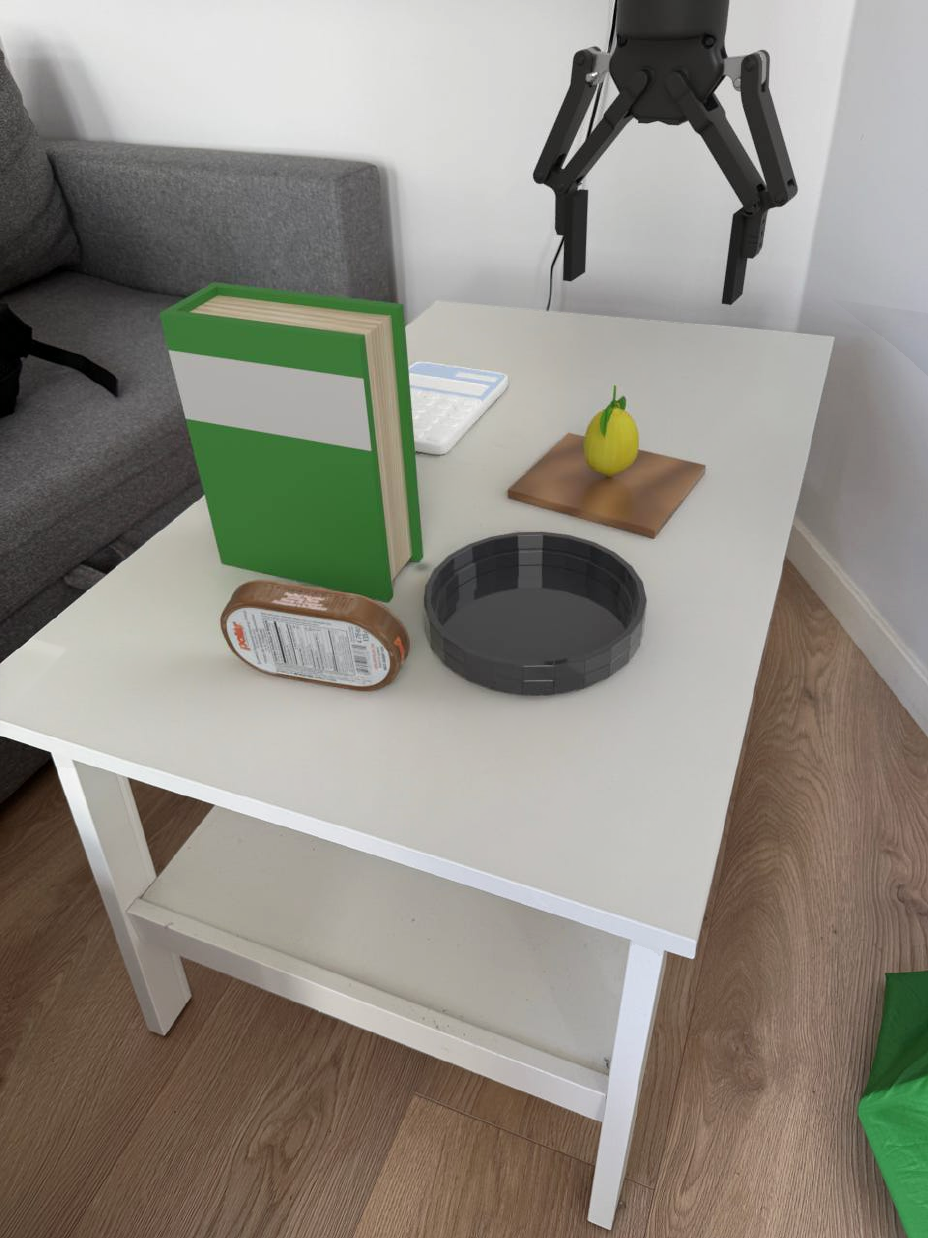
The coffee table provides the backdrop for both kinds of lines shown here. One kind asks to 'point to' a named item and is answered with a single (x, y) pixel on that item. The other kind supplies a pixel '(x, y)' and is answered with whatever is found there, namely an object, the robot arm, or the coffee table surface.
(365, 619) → the tin
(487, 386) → the calculator
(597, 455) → the lemon
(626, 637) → the pan
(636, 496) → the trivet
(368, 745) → the coffee table surface
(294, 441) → the hardback book
